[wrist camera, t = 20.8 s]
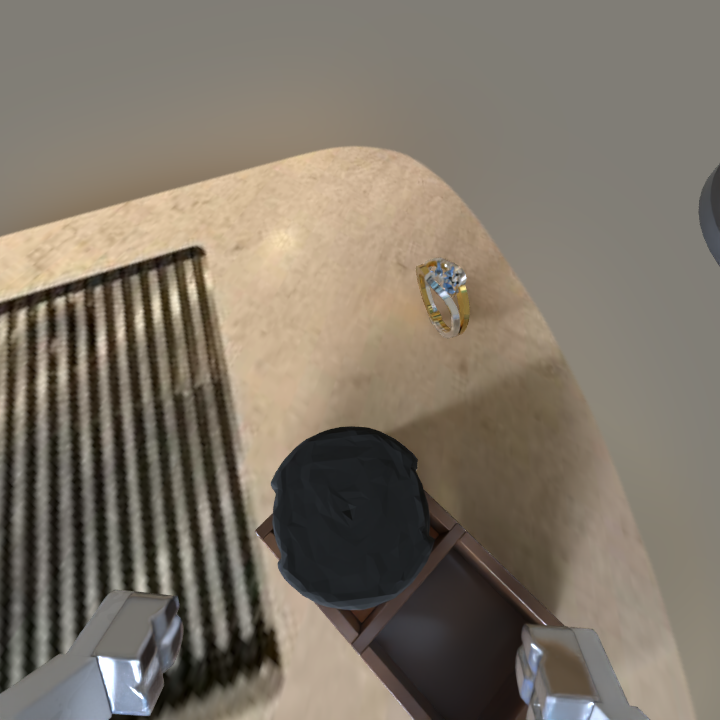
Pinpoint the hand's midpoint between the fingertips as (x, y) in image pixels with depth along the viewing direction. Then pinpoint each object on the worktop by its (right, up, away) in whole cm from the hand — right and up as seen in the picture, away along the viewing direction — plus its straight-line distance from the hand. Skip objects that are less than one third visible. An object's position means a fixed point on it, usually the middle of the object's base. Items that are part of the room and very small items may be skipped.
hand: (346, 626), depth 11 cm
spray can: (+1, -7, +24) cm, 25 cm away
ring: (+7, +10, +33) cm, 35 cm away
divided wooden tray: (+4, -11, +24) cm, 26 cm away
